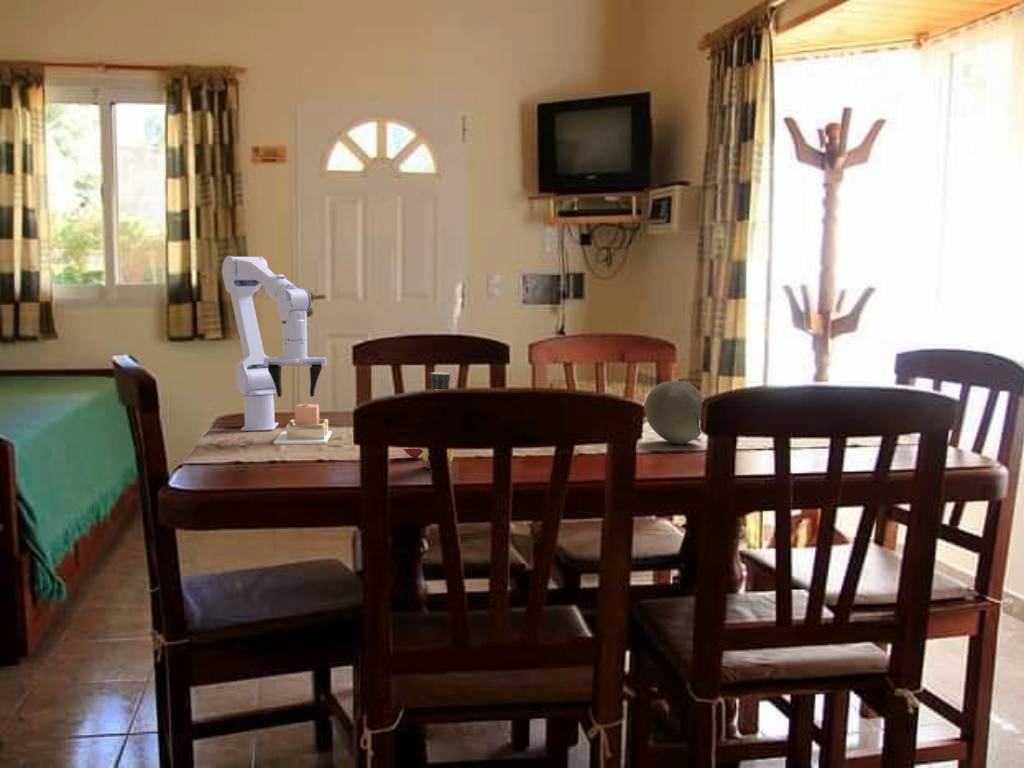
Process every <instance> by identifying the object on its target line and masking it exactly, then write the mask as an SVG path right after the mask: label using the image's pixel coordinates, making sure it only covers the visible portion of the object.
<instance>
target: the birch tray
mask: <svg viewBox="0 0 1024 768" xmlns="http://www.w3.org/2000/svg"><path fill="white" fill-rule="evenodd" d="M285 427H286V430H285V431H287V440H307V439H325V437H326V436H327V434H328V431H329V419H328V418H322V419H321V418H319V425H295V418H293V419H291V420H289V422H288V423H287V424H286V426H285Z"/></svg>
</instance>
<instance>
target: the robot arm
mask: <svg viewBox="0 0 1024 768" xmlns="http://www.w3.org/2000/svg"><path fill="white" fill-rule="evenodd" d="M221 267H222V268H221V274H222V278H223V279H222V280H223V283H224V287H225V291H226V292H227V293H229V294H230V298H231V303H232V309H233V312H234V318H235V322H236V326H237V331H238V336H239V340H240V345H241V350H242V355H243V357H242V359H241V360H240V361H239V362H238V363H237V364H236V366H235V368H234V369H235V384H236V385H235V386H236V387H237V390H238V391H239V392H240V394H241V395H243V402H244V403H243V404H244V405H243V406H244V407H243V408H244V412H243V413H244V426H242V427H241V428H240V431H244V432H245V431H246V432H247V431H274V430H275V429H276V428H277V426H278V425H279V422H278V421H277V422H275V419H276V418H275V400H274V394H276V395H277V397H278V398H281V397H282V395H283V393H282V392H283V390H282V389H283V388H282V367H309V375H310V376H309V378H310V385H309V386H310V387H309V388H310V390H309V395H310V397H312V398H313V397H315V391H316V390H315V389H316V386H317V382H318V379H319V376H320V374H321V371H322V369H323V367H326V366H327V356H326V357H324V356H323V357H317V356H316V357H315V356H308V328H307V327H308V322H307V317H308V315H307V313H308V312H309V311H310V310H311V307H312V298H311V293H310V292H309V290H308V289H307V288H305V287H301V288H298V287H297V286H295V284H294V283H292V282H291V281H289V280H288V279H287V278H286V276H285V275H284V274H275V273H274V272H273V271H272V270H271V269H270V268H269V267H268V262H267V259H265V258H264V257H263V256H261V255H258V256H232V255H227V256H226V257H225V258H224V260H223V262H222V266H221ZM261 286H264V290H265V293H266V294H267V295H268V297H270V298H271V299H273V301H275V302H276V307H277V310H278V313H279V320H280V321H281V329H282V330H281V332H282V335H281V336H282V338H281V339H282V357H281V356H278V357H270V356H268V355H266V354H265V351H264V346H263V342H262V337H261V333H260V328H259V324H258V319H257V315H256V313H257V312H256V310H255V305H254V304H255V303H254V300H253V295H254V294H255V293H257V292H258V291H259V290H260V288H261Z"/></svg>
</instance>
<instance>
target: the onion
mask: <svg viewBox="0 0 1024 768" xmlns="http://www.w3.org/2000/svg"><path fill="white" fill-rule="evenodd" d="M403 450H404V452H405V453H406V454H407V455H408V456H410V457H411V458H412V459H417V458H419V457H420V456H421V455H423V450H421V449H403Z"/></svg>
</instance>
